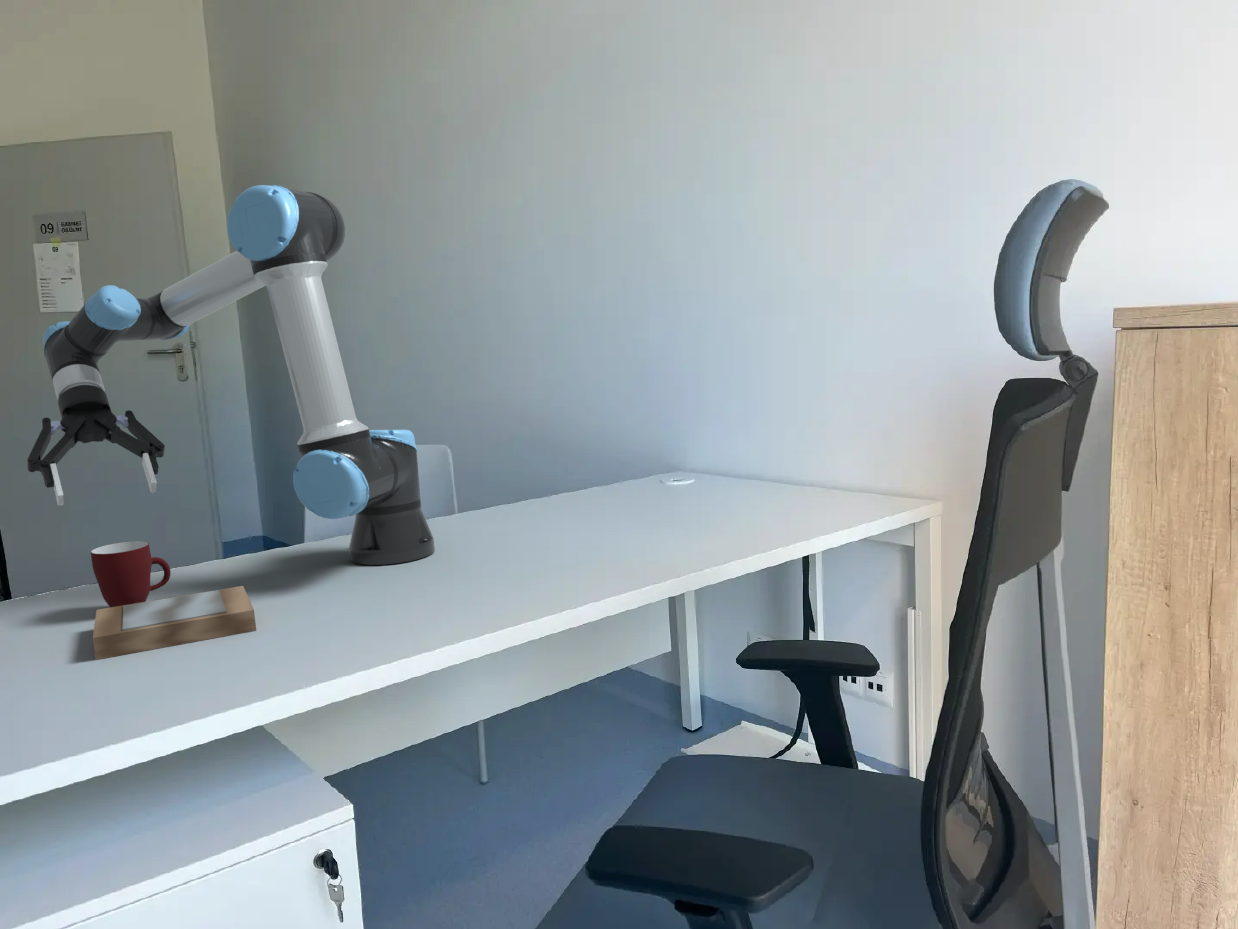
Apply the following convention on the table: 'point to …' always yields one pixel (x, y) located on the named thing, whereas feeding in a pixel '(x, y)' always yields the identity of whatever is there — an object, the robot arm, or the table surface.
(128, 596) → the mug
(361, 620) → the table surface
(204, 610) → the plinth
